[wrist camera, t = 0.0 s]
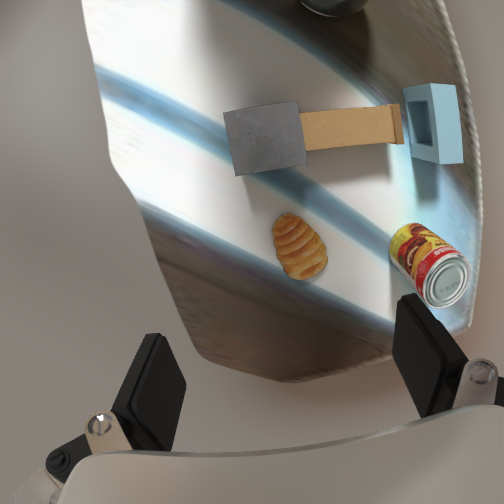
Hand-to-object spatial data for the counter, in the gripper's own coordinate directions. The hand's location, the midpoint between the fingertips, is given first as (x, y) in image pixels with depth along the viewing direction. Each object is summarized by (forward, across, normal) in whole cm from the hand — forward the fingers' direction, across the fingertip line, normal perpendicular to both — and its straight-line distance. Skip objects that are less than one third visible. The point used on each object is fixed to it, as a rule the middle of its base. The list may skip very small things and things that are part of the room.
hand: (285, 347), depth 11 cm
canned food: (+31, -21, +12) cm, 40 cm away
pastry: (+32, -3, +9) cm, 33 cm away
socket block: (+31, -24, -7) cm, 40 cm away
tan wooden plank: (+30, -7, -7) cm, 32 cm away
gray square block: (+31, -1, -7) cm, 32 cm away
